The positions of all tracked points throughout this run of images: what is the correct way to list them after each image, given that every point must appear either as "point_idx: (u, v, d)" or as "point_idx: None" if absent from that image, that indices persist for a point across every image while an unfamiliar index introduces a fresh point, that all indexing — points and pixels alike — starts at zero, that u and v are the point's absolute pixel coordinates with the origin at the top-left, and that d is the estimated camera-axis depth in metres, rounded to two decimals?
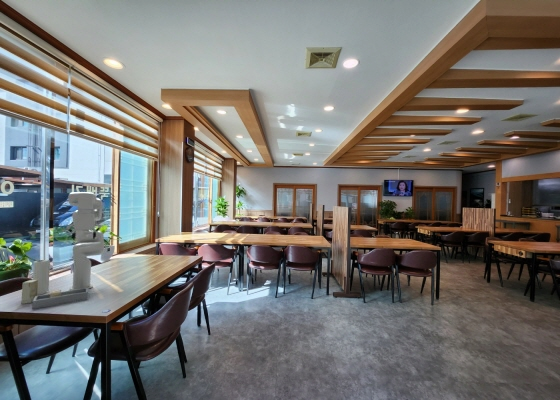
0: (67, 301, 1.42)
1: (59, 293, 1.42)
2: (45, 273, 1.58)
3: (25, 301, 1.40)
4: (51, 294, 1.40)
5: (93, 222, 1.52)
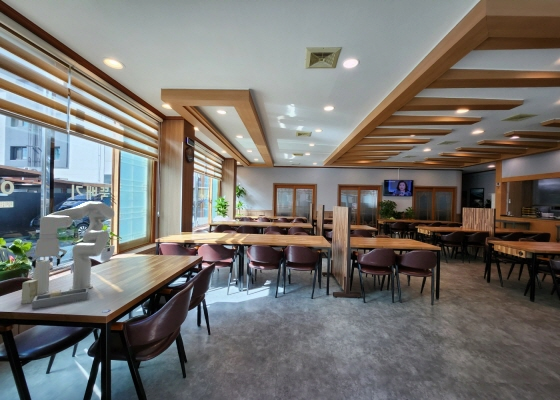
0: (67, 301, 1.42)
1: (59, 293, 1.42)
2: (45, 273, 1.58)
3: (25, 301, 1.40)
4: (51, 294, 1.40)
5: (57, 248, 1.42)
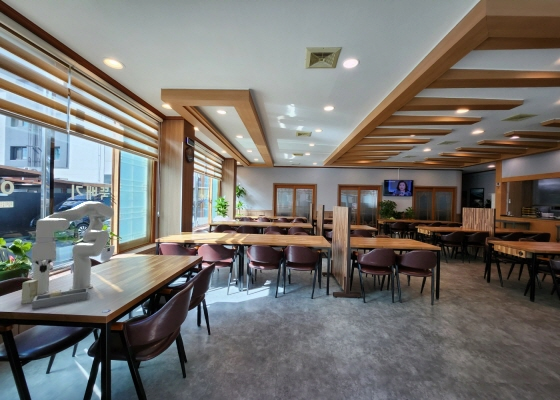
0: (67, 301, 1.42)
1: (59, 293, 1.42)
2: (45, 273, 1.58)
3: (25, 301, 1.40)
4: (51, 294, 1.40)
5: (53, 251, 1.41)
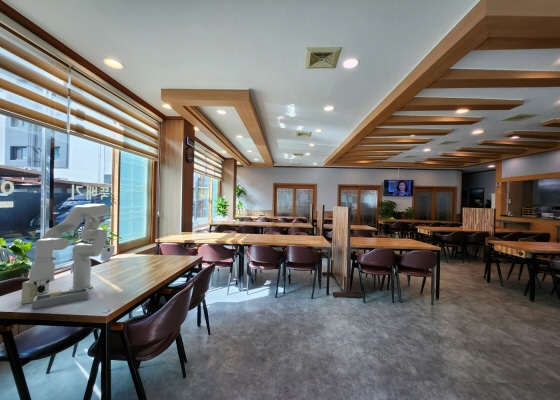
0: (67, 301, 1.42)
1: (59, 293, 1.42)
2: None
3: (25, 301, 1.40)
4: (51, 294, 1.40)
5: (52, 271, 1.40)
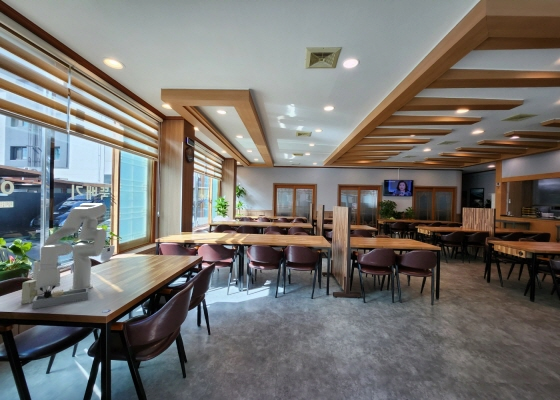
0: (67, 301, 1.42)
1: (61, 293, 1.42)
2: None
3: (25, 301, 1.40)
4: (53, 294, 1.40)
5: (58, 277, 1.42)
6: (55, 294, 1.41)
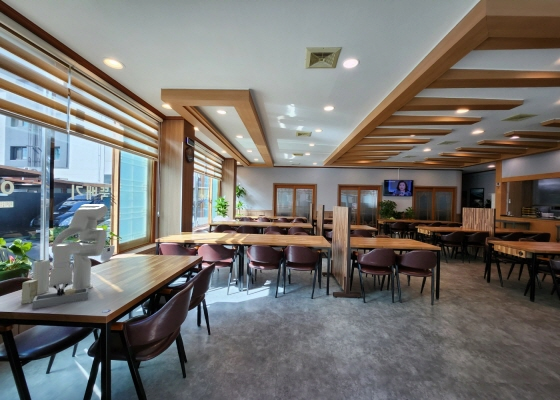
0: (67, 301, 1.42)
1: (73, 291, 1.46)
2: (45, 273, 1.58)
3: (25, 301, 1.40)
4: (66, 292, 1.44)
5: (70, 275, 1.46)
6: (68, 292, 1.44)
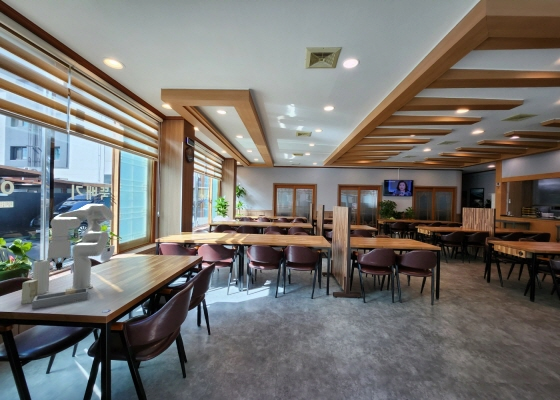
0: (67, 301, 1.42)
1: (74, 291, 1.46)
2: (45, 273, 1.58)
3: (25, 301, 1.40)
4: (66, 292, 1.44)
5: (68, 249, 1.46)
6: (68, 292, 1.44)
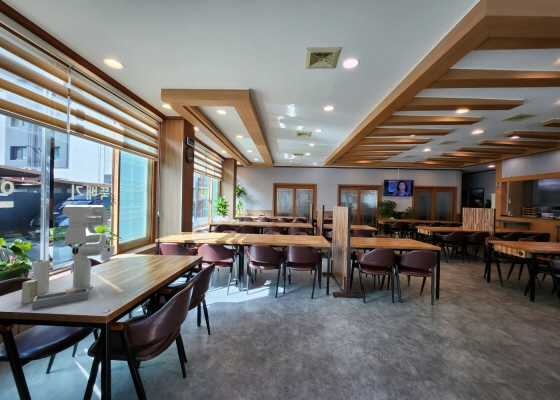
0: (67, 301, 1.42)
1: (74, 291, 1.46)
2: (45, 273, 1.58)
3: (25, 301, 1.40)
4: (66, 292, 1.44)
5: (84, 235, 1.53)
6: (68, 292, 1.44)
